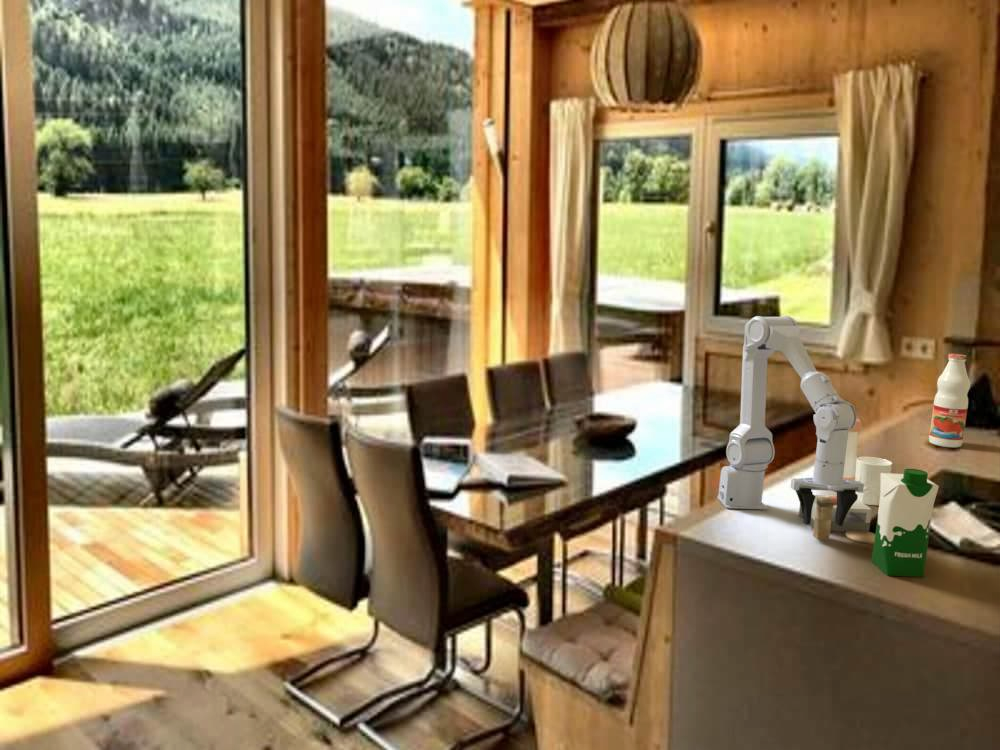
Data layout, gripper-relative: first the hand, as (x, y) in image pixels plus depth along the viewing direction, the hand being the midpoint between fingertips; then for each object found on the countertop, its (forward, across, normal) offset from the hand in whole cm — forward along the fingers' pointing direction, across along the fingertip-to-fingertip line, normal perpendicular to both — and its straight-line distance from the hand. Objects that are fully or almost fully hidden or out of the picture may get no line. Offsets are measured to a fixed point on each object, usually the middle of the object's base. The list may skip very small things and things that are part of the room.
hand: (822, 523), depth 188 cm
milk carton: (+3, +8, -16) cm, 18 cm away
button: (0, +7, +10) cm, 12 cm away
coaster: (+3, +10, +1) cm, 10 cm away
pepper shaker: (+3, +20, +37) cm, 42 cm away
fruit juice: (+3, +74, +89) cm, 116 cm away
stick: (+3, 0, 0) cm, 3 cm away
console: (+3, +6, +10) cm, 12 cm away
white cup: (+3, +22, +27) cm, 35 cm away
